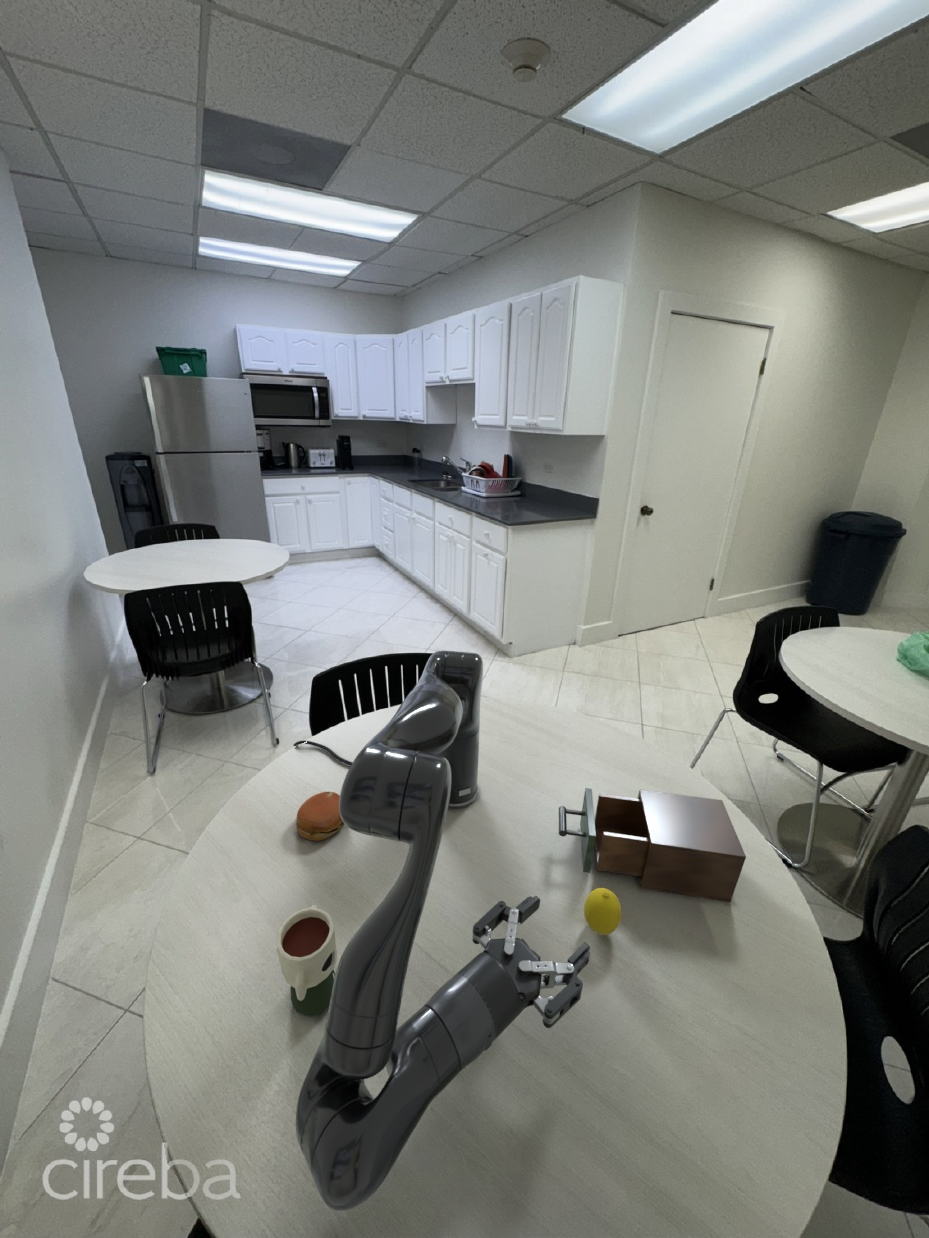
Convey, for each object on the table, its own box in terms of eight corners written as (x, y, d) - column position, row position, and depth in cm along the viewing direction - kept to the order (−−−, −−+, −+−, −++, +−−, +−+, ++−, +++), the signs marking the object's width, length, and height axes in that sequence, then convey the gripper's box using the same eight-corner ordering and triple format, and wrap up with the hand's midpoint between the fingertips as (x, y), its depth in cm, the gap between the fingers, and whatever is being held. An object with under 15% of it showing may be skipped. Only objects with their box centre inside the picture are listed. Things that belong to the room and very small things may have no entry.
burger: (293, 844, 92) (291, 825, 90) (301, 807, 100) (299, 789, 98) (348, 839, 93) (346, 820, 91) (351, 803, 101) (349, 785, 100)
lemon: (613, 913, 80) (620, 879, 77) (620, 947, 75) (628, 912, 72) (579, 910, 81) (585, 875, 78) (583, 943, 76) (589, 908, 73)
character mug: (335, 1037, 64) (326, 974, 59) (279, 1042, 63) (265, 979, 58) (346, 952, 74) (339, 892, 69) (297, 955, 73) (287, 895, 68)
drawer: (555, 867, 87) (560, 830, 84) (555, 819, 98) (560, 784, 94) (662, 884, 85) (672, 847, 81) (651, 832, 95) (659, 797, 91)
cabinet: (640, 887, 85) (651, 842, 81) (630, 831, 96) (639, 789, 92) (730, 902, 83) (746, 856, 78) (709, 842, 94) (722, 799, 90)
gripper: (517, 1046, 51) (609, 945, 60) (434, 940, 60) (525, 868, 70) (513, 1086, 54) (601, 984, 63) (434, 978, 63) (521, 904, 73)
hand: (561, 923), depth 67 cm, fingers open, 8 cm apart
